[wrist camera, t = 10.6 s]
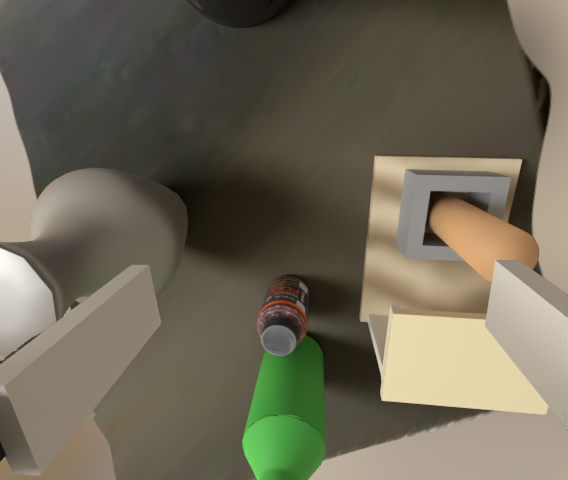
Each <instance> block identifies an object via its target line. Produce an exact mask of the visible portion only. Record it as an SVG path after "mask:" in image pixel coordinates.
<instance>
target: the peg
mask: <svg viewBox="0 0 568 480" xmlns="http://www.w3.org/2000/svg"><path fill="white" fill-rule="evenodd" d="M425 225H427V226H428V227H429V228H430V229H431V230H432V231H433V232H434V233H435V234H436V235H437V236H439V237H440V238H441V239H442V240H443V241H444V242H445V243H446V244H447V245H448V246H449V247H451V248H452V249H453V250H454V251H455V252H456V253H457V254H458V255H459V256H460V257H461V258H463V259H464V260H465V261H466V262H467V263H468V264H469V265H470V266H471V267H472V268H473V269H474V270H476V271H477V272H478V273H479V274H480V275H481V276H482V277H483V278H485V279H486V280H488V281H490V282H492V278H493V271H494V265H495V260H519V261H521V262H522V263H523V264H525V265H526V266H528V267H529V268H531V269H532V270H533V269H534V267H535V265H536V263H537V261H538V258H539V248H538V244H537V242H536V240H535V239H534V238H533V237H532V236H531V235H530V234H529V233H527V232H525V231H523V230H521V229H519V228H517V227H515V226H513V225H511V224H509V223H507V222H505V221H503V220H501V219H499V218H497V217H495V216H493V215H491V214H489V213H487V212H485V211H483V210H481V209H479V208H477V207H475V206H473V205H471V204H469V203H467V202H465V201H463V200H461V199H459V198H457V197H455V196H453V195H451V194H449V193H447V192H444V191H436V192H432V193H430V198H429V205H428V211H427V218H426V224H425Z"/></svg>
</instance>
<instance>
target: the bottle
mask: <svg viewBox="0 0 568 480" xmlns="http://www.w3.org/2000/svg"><path fill="white" fill-rule="evenodd" d="M242 443H243V448H244V453H245V456H246V458H247V460H248V462H249V464H250V466H251V468H252V470H253V472H254V474H255V476H256V478H257V480H308V479H309V478H310V477H311V475H312V474H313V473H314V472H315V471H316V469H317V468H318V467H319V466H320V465H321V463H322V461H323V458H324V455H325V402H324V361H323V352H322V350H321V348H320V346H319V345H318V343H317V342H315V341H314V340H313V339H312V338H311V337H309V336H307V335H305V337H304V338H303V340H302V341H301V342H300V343H299V344H298V345H296V348H295V349H294V350H293V351H292V352H291V353H290V354H288V355H285V356H276V355H273V354H270V353H269V352H267V351H266V350H265V352H264V356H263V360H262V364H261V368H260V372H259V376H258V380H257V384H256V388H255V392H254V396H253V400H252V404H251V408H250V412H249V416H248V420H247V424H246V428H245V432H244V436H243V441H242Z"/></svg>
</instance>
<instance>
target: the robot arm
mask: <svg viewBox="0 0 568 480" xmlns="http://www.w3.org/2000/svg"><path fill="white" fill-rule="evenodd" d="M187 1H188V2H189V3H190V4H191V5H192V6H193V7H194V8H195V9H196V10H197V11H199V12H200V13H201V14H202V15H204V16H205V17H207V18H208V19H210V20H212V21H214V22H216V23H219V24H222V25H225V26H230V27H248V26H253V25H257V24H260V23H262V22H265V21H266V20H268V19H270V18H272V17H273V16H275V15H276V14H277V13H279V12H280V11H281V10H282V9H283V8H284V7H285V6H286V5H287V4H288V3H289V2H290V0H187ZM160 324H161V320H160V315H159V310H158V305H157V301H156V296H155V291H154V286H153V281H152V276H151V272H150V267H149V265H131V266H129V267H128V268H127V269H125V270H124V271H123V272H121V273H120V274H119V275H117V276H116V277H115V278H113V279H112V280H111V281H109V282H108V283H107V284H106V285H104V286H103V287H102V288H100V289H99V290H98V291H96V292H95V293H94V294H92V295H91V296H90V297H88V298H87V299H86V300H85V301H83V302H82V303H81V304H79V305H78V306H77V307H75V308H74V309H73V310H71V311H70V312H69V313H68V314H66V315H65V316H63V317H62V318H61V319H60V320H58V321H57V322H56V323H54V324H53V325H52V326H50V327H49V328H48V329H46V330H45V331H44V332H42V333H40V334H38V335H36V336H34V337H32V338H31V339H29V340H28V341H27V342H25V343H24V344H23V345H21V346H20V347H19V348H17V351H13V352H12V353H11V354H9V355H8V356H7V357H5V358H4V361H0V461H1V460H2V459H3V458H4V457H6V459H7V461H8V463H9V465H10V468H11V470H12V472H13V474H23V475H37V476H41V475H42V474H43V473H44V472H45V470H46V469H47V468H48V467H49V465H50V464H51V463H52V461H53V460H54V459H55V458H56V456H57V455H58V454H59V453H60V451H61V450H62V449H63V448H64V446H65V445H66V444H67V442H68V441H69V440H70V438H71V437H72V436H73V435H74V434H75V432H76V431H77V430H78V429H79V427H80V426H81V424H82V423H83V422H84V421H85V419H86V418H87V417H88V416H89V414H90V413H91V412H92V411H93V409H94V408H95V407H96V406H97V404H98V403H99V402H100V401H101V399H102V398H103V397H104V395H105V394H106V393H107V392H108V390H109V389H110V388H111V387H112V385H113V384H114V383H115V382H116V380H117V379H118V378H119V376H120V375H121V374H122V373H123V371H124V370H125V369H126V368H127V366H128V365H129V364H130V362H131V361H132V360H133V359H134V357H135V356H136V355H137V354H138V352H139V351H140V350H141V349H142V347H143V346H144V345H145V343H146V342H147V341H148V340H149V338H150V337H151V336H152V335H153V333H154V332H155V331H156V329H157V328H158V327H159V326H160ZM485 327H486V328H487V330H488V331H489V332H490V333H491V335H492V336H493V337H494V338H495V340H496V341H497V342H498V343H499V345H500V346H501V347H502V348H503V350H504V351H505V352H506V353H507V355H508V356H509V357H510V358H511V360H512V361H513V362H514V363H515V365H516V366H517V367H518V368H519V370H520V371H521V372H522V374H523V375H524V376H525V377H526V379H527V380H528V381H529V382H530V384H531V385H532V386H533V387H534V389H535V390H536V391H537V392H538V394H539V395H540V396H541V397H542V399H543V400H544V401H545V402H546V404H547V405H548V406H549V407H550V409H551V410H552V411H553V412H554V414H555V415H556V416H557V417H558V419H559V420H560V421H561V422H562V423H563V425H564V426H565V427H566V429H567V430H568V295H567V294H566V293H564V292H563V291H562V290H560V289H559V288H557V287H556V286H555V285H553V284H552V283H550V282H549V281H547V280H546V279H545V278H543V277H542V276H540V275H539V274H538V273H536V272H535V271H533V270H532V269H531V268H529V267H528V266H526V265H525V264H523V263H522V262H521V261H519V260H495V265H494V271H493V278H492V284H491V290H490V296H489V303H488V309H487V315H486V322H485Z"/></svg>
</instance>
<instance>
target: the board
mask: <svg viewBox="0 0 568 480" xmlns="http://www.w3.org/2000/svg"><path fill="white" fill-rule="evenodd" d="M521 163H522V159H513V158H468V157H423V156H378V155H375V160H374V170H373V181H372V191H371V201H370V211H369V222H368V232H367V242H366V253H365V263H364V273H363V284H362V294H361V304H360V314H359V318H360V322H368V314H372V315H387V316H389V312H390V305H399V306H400V308H401V309H413V310H430V311H446V312H462V313H478V314H487V309H488V303H489V296H490V290H491V284H492V282H490V281H488V280H486V279H485V278H483V277H482V276H481V275H480V274H479V273H478V272H477V271H476V270H474V269H473V268H472V267H471V266H470V265H469V264H468V263H467V262H466V261H449V260H428V259H407V258H405V257H404V256H403V254H402V253H401V251H400V250H399V248H398V247H397V245H396V237H397V229H398V221H399V213H400V206H401V198H402V190H403V182H404V174H405V169H416V170H455V171H489V172H492V173H496V174H500V175H504V176H508V177H512V178H511V182H510V186H509V191H508V195H507V200H506V204H505V209H504V213H503V217H502V220H503V221H505V222H507V223H508V219H509V215H510V211H511V206H512V202H513V198H514V193H515V189H516V185H517V180H518V176H519V172H520V168H521ZM432 192H436V191H430V193H432ZM444 192H447V193H449V194H451V195H453V196H455V197H457V198H459V199H461V200H463V201H465V202H467V201H468V196H469V192H454V191H444ZM424 233H434V232H433V231H432V230H431V229H430V228H429V227H428V226H427V225H425V231H424Z"/></svg>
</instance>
